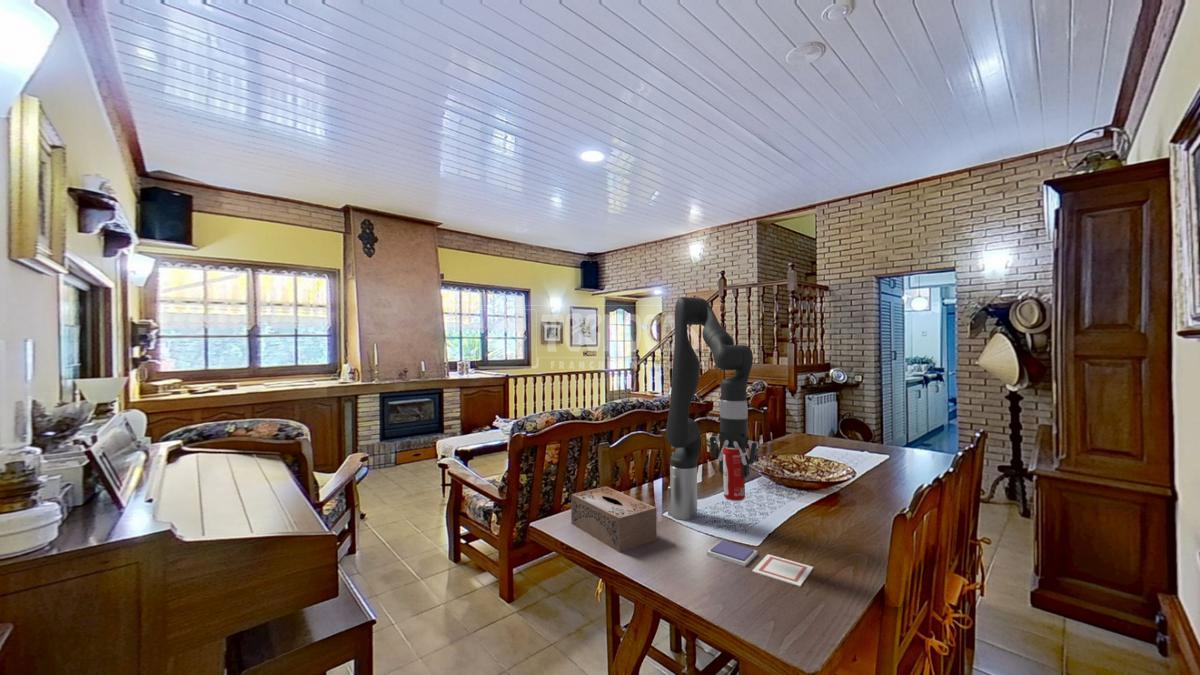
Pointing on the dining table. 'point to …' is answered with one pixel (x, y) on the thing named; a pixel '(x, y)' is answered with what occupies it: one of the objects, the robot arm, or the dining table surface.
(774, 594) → the dining table surface
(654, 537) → the tissue box cover
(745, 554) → the ink pad
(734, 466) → the beverage can
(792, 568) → the marked card
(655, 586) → the dining table surface
